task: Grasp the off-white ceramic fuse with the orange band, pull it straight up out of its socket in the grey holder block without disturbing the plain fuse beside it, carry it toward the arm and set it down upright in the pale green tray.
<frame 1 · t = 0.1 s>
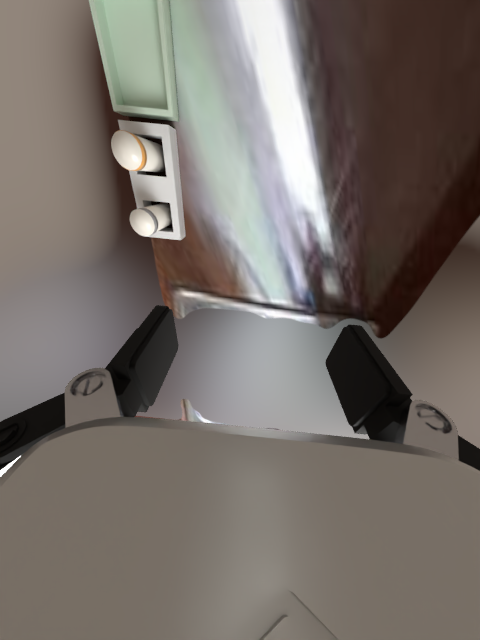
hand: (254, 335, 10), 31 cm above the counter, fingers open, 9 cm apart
tray: (143, 61, 24), on the counter
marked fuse: (157, 158, 30), resting in holder block
holder block: (161, 188, 32), on the counter
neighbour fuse: (165, 214, 35), resting in holder block
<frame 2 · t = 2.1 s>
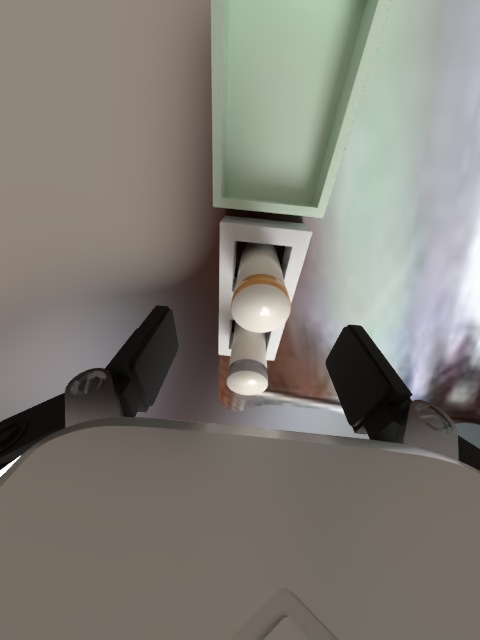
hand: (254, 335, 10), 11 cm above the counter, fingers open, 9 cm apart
tray: (279, 120, 13), on the counter
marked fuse: (259, 258, 18), resting in holder block
holder block: (254, 293, 21), on the counter
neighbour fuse: (250, 320, 23), resting in holder block
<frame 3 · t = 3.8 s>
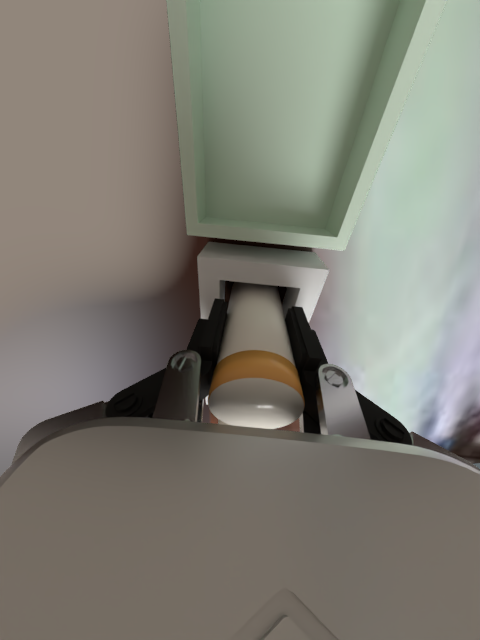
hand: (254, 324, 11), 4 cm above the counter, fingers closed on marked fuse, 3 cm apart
tray: (281, 112, 8), on the counter
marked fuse: (254, 293, 14), resting in holder block, touching gripper
holder block: (249, 332, 17), on the counter
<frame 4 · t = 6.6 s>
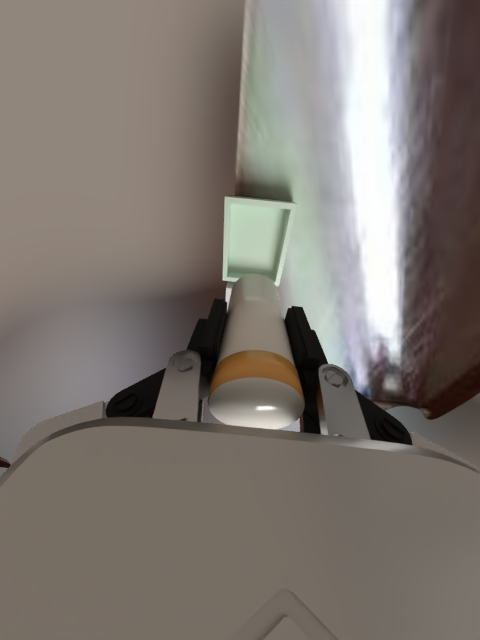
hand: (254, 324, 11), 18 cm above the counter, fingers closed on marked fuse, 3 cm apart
tray: (255, 242, 26), on the counter
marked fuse: (254, 295, 14), point 15 cm above the counter, touching gripper
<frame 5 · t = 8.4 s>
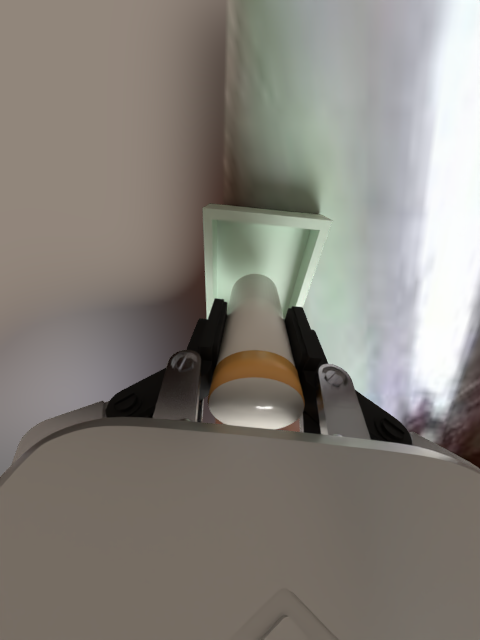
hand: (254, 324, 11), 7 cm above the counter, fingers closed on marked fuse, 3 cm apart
tray: (256, 274, 17), on the counter
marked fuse: (254, 295, 14), point 3 cm above the counter, touching gripper
when the fingers open (6 cm above the counter, at t = 9.4 s): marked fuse drops 1 cm, resting on tray.
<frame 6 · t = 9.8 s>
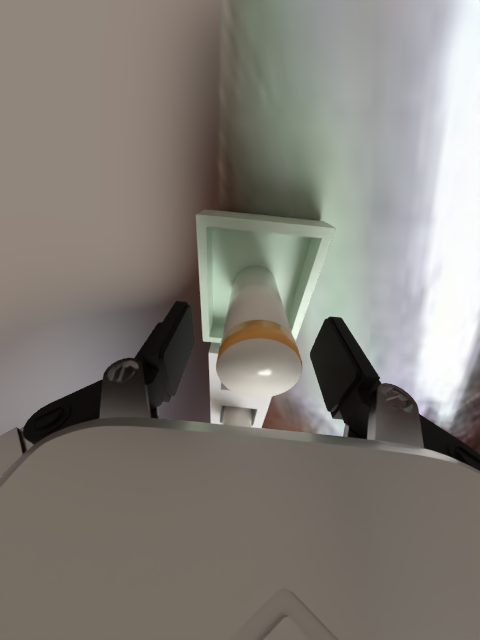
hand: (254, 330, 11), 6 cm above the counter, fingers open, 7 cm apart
tray: (254, 282, 16), on the counter
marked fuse: (254, 287, 15), point 1 cm above the counter, touching tray
holder block: (241, 377, 24), on the counter
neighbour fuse: (238, 394, 26), resting in holder block
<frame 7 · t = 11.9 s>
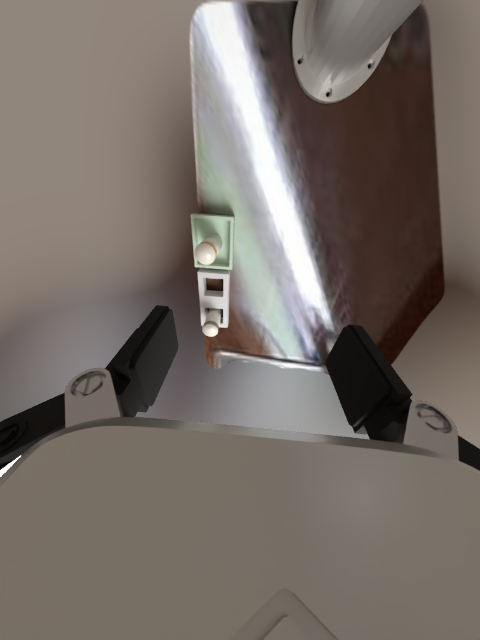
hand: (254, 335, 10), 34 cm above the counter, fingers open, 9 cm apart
tray: (214, 241, 40), on the counter
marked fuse: (214, 242, 40), point 1 cm above the counter, touching tray
holder block: (215, 296, 48), on the counter
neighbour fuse: (216, 309, 50), resting in holder block
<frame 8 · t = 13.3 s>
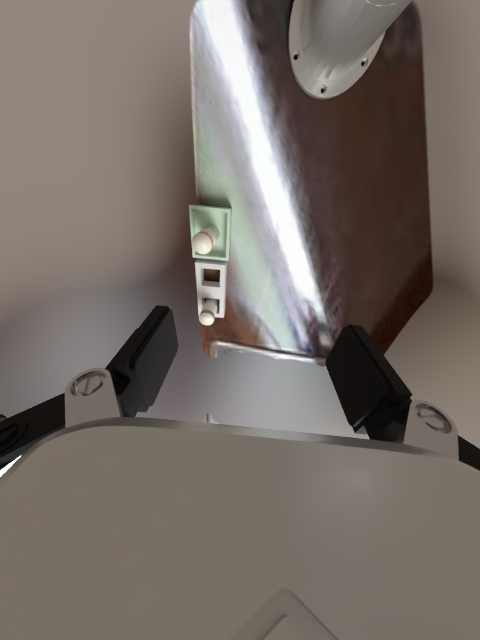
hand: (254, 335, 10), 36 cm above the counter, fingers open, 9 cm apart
tray: (212, 232, 41), on the counter
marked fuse: (211, 233, 41), point 1 cm above the counter, touching tray
holder block: (212, 287, 49), on the counter
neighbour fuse: (212, 300, 52), resting in holder block
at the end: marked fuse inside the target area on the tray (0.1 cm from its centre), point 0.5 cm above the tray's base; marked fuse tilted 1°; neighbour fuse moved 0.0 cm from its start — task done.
